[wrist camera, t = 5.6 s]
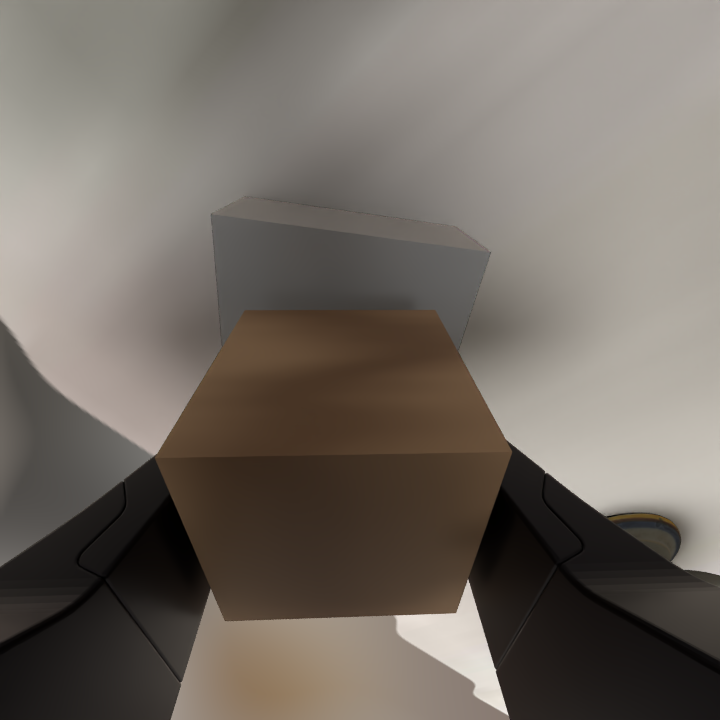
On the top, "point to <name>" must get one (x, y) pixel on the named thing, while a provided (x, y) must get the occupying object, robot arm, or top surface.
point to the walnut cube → (335, 466)
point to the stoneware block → (341, 263)
